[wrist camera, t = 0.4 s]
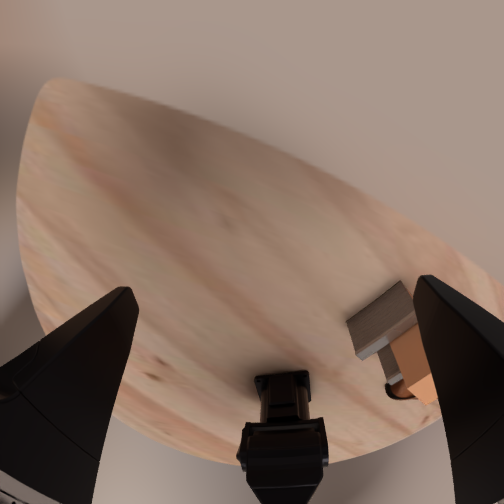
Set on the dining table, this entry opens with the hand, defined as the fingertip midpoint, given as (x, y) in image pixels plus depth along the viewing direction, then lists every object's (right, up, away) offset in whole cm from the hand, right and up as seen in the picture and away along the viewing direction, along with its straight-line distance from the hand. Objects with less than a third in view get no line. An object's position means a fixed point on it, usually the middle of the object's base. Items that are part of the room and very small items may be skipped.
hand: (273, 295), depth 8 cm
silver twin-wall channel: (+14, -6, +20) cm, 25 cm away
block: (+15, -5, +19) cm, 25 cm away
